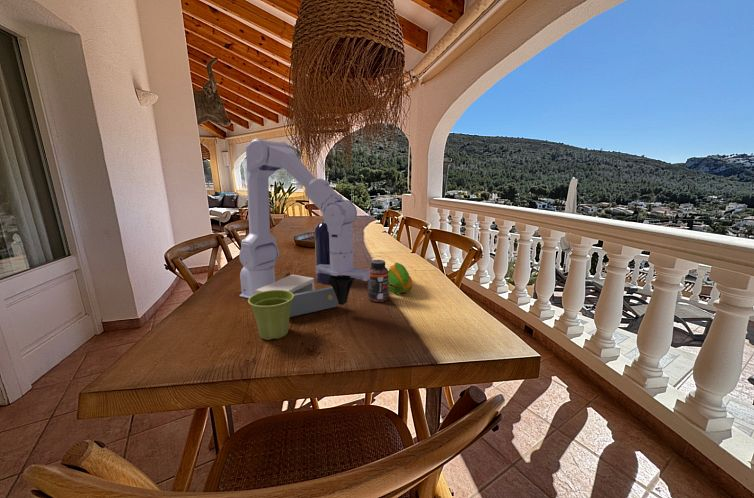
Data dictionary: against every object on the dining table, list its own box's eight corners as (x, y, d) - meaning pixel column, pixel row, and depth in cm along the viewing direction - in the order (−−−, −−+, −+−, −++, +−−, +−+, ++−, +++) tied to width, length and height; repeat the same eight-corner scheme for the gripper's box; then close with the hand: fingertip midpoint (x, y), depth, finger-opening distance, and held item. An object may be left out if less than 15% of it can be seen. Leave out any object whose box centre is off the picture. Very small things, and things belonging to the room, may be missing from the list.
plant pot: (273, 320, 72) (271, 287, 70) (304, 328, 68) (302, 293, 66) (242, 338, 64) (238, 301, 62) (275, 348, 60) (271, 309, 58)
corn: (392, 273, 84) (381, 256, 103) (390, 299, 85) (380, 276, 104) (417, 274, 85) (402, 256, 104) (415, 299, 86) (400, 277, 106)
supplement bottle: (386, 303, 82) (386, 264, 79) (365, 302, 83) (365, 263, 81) (389, 295, 88) (390, 259, 85) (370, 294, 89) (370, 257, 86)
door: (280, 317, 73) (278, 296, 72) (335, 304, 81) (335, 286, 79) (282, 320, 72) (280, 299, 70) (338, 307, 79) (338, 288, 78)
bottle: (320, 274, 106) (317, 190, 100) (345, 276, 105) (343, 190, 98) (311, 283, 98) (307, 191, 91) (338, 285, 96) (336, 191, 89)
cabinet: (257, 311, 77) (255, 289, 75) (293, 293, 89) (292, 274, 88) (281, 317, 74) (279, 294, 72) (315, 297, 86) (314, 278, 85)
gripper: (306, 251, 71) (309, 304, 74) (360, 258, 65) (360, 314, 68) (323, 245, 77) (325, 294, 80) (373, 251, 71) (373, 303, 75)
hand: (342, 303), depth 75 cm, fingers closed
